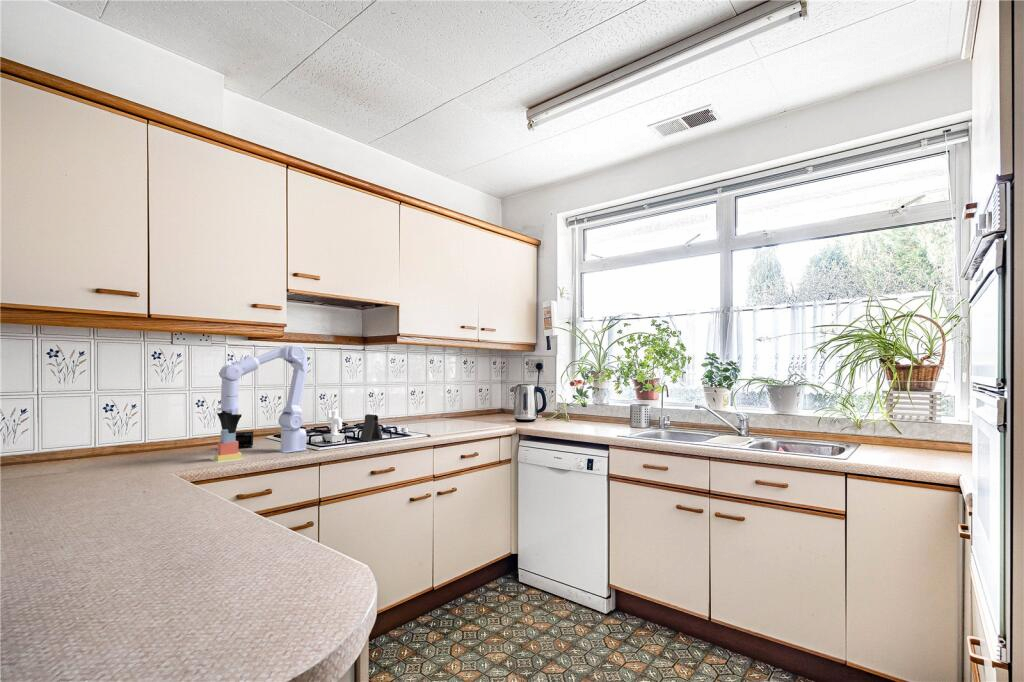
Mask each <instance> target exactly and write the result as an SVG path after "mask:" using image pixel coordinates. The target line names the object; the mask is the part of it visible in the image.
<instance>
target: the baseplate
mask: <svg viewBox="0 0 1024 682" xmlns="http://www.w3.org/2000/svg"><path fill="white" fill-rule="evenodd" d="M210 460H211V461H213V462H215V463H218V464H219V463H220V464H221V463H227V462H228V463H229V462H235V461H236V462H237V461H244V460H246V458H245V457H242V458H241V459H233V460H225V461H217V460H215V459H214V457H213V458H210Z"/></svg>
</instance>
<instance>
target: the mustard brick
mask: <svg viewBox="0 0 1024 682" xmlns="http://www.w3.org/2000/svg"><path fill="white" fill-rule="evenodd" d="M242 455H243V453H241V452H240V451H238V453H237V454H229V455H219V454H218V453H214V457H213V458H214V459H215V460H217V461H225V460H233V459H241V458H242Z"/></svg>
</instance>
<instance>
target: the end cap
mask: <svg viewBox="0 0 1024 682" xmlns="http://www.w3.org/2000/svg"><path fill="white" fill-rule="evenodd" d="M236 441H238V450H243V449H244V450H245V449H246V450H247V449H253V446H254V431H240V432H237V431H236Z"/></svg>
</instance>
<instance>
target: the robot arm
mask: <svg viewBox="0 0 1024 682" xmlns="http://www.w3.org/2000/svg"><path fill="white" fill-rule="evenodd" d="M306 354H307V352H306V350H305V349H304V348H303V346H301V345H300V344H299V345H298V344H294V345H289V344H287V345H283V346H280V347H279V346H278V347H276V348H274V349H271V350H269V351H267V352H265V353H262V354H260V355H257V356H256V357H254V356H252V355H251V356H249V355H245V356H244V357H243V359H241V360H238V361H232V362H231V364H226V365H224V366H222V367H221V369H220V370H219V372H218V376H219V378H221V384H220V385H221V386H220V387H221V389H220V391H221V392H220V393H221V394H220V407H218V408H216V409H217V411H220V412H218V413H216V415H217V417H218V419H219V421H220V426H221V430H225V429H228V433H235V432H237V427H238V425H239V421H240V419H241V418H242V413H241V414H239V379H240V378H241V376H244V375H247V374H249V373H252V372H253V371H256V370H258V369H259V367H260V365H263V364H265V363H267V362H271V361H273V360H276V359H282V360H283V361H285V362H287V363H288V364H290V366H291V367H292V368H293V371H292V377H291V381H290V387H289V391H288V396H287V401H286V405H285V406H284V408H283V409H282V412H281V414H280V416H279V417H278V424H279V426H280V427H281V428H280V448H277V449H276V451H278V452H280V453H283V454H285V453H293V452H294V453H296V452H303V451H307V431H306V429H305V428H301V427H302V426H303V424H304V419H303V409H302V408H301V405H302V400H303V394H304V390H305V384H306V380H307V374H308V368H309V364H308V361H307V360H308V359H307V356H306Z"/></svg>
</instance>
